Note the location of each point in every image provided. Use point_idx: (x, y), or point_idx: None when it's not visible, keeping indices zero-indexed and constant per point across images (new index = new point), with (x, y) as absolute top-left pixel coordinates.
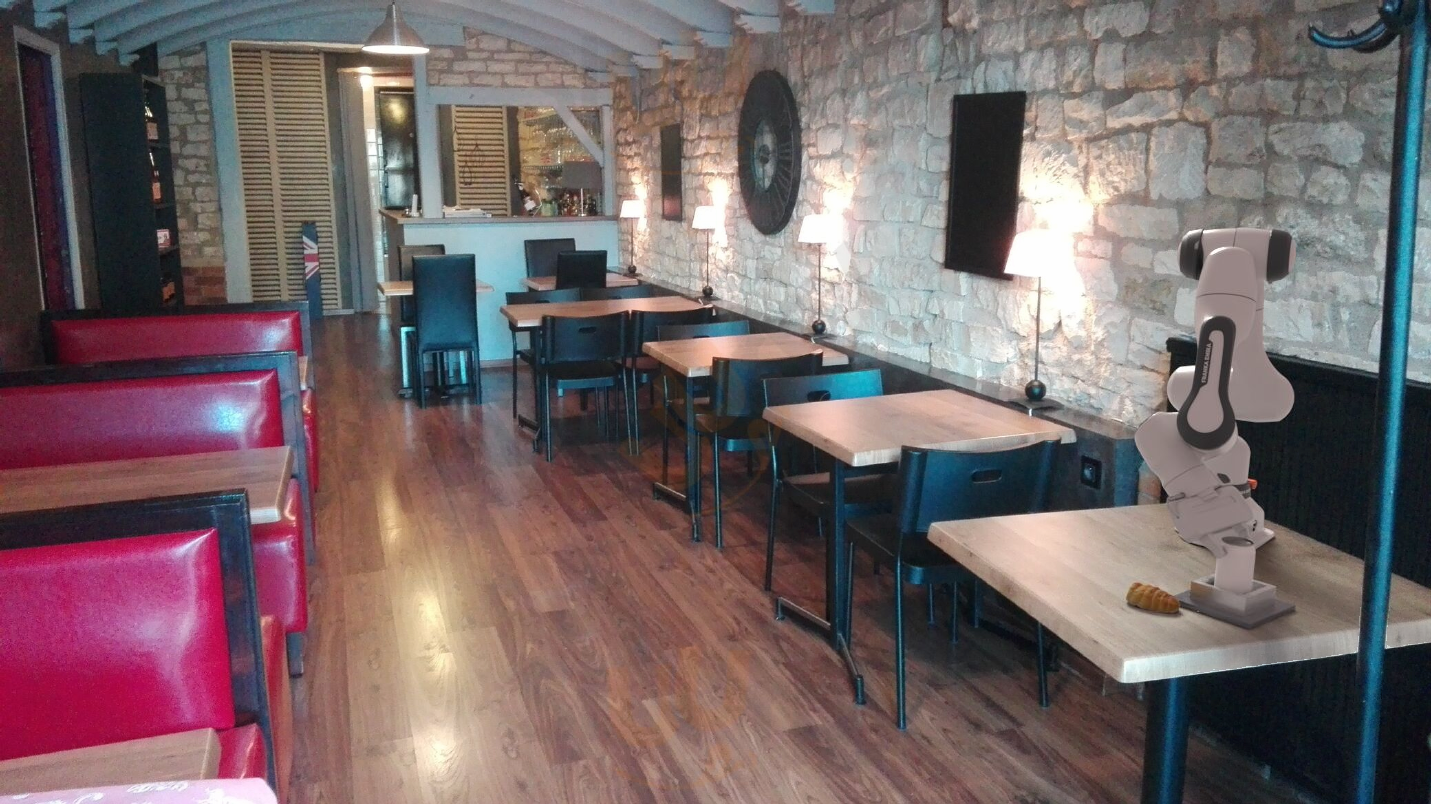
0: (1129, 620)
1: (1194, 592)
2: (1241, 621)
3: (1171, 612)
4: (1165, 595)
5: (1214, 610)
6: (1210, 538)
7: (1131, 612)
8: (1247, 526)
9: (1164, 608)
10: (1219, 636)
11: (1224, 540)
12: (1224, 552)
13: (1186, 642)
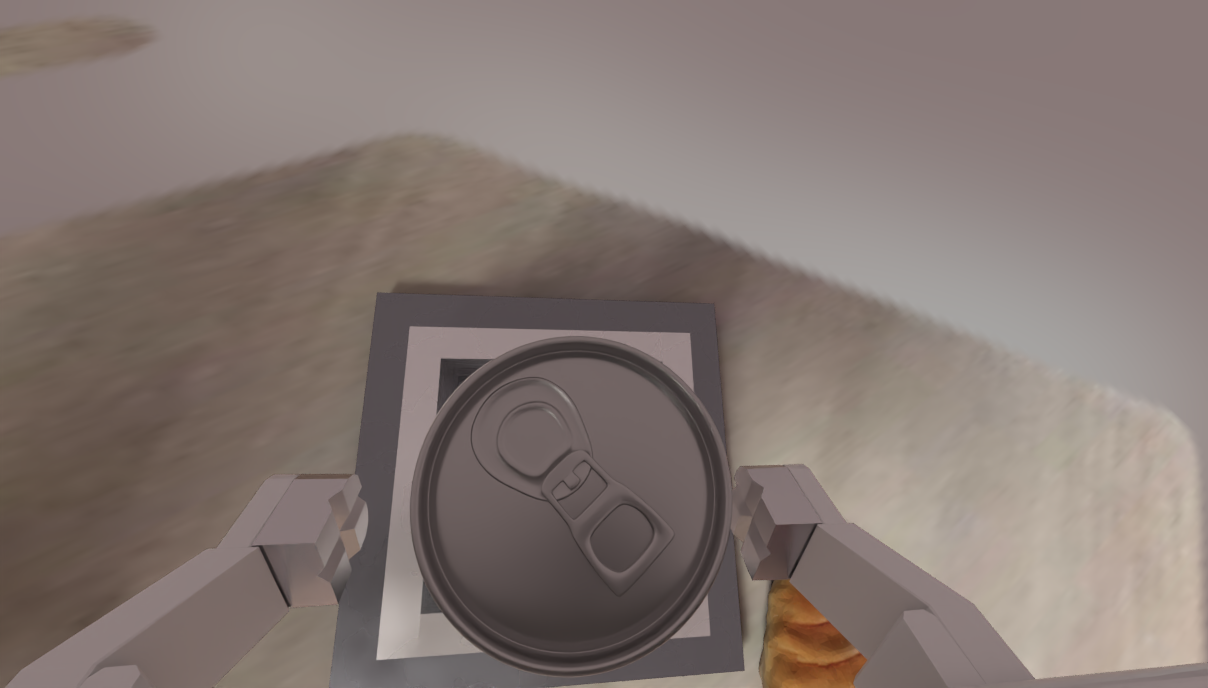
0: (1009, 614)
1: None
2: (716, 335)
3: None
4: (845, 643)
5: None
6: (977, 615)
7: None
8: (19, 682)
9: None
10: (838, 341)
11: (626, 618)
12: (791, 470)
13: (965, 377)
